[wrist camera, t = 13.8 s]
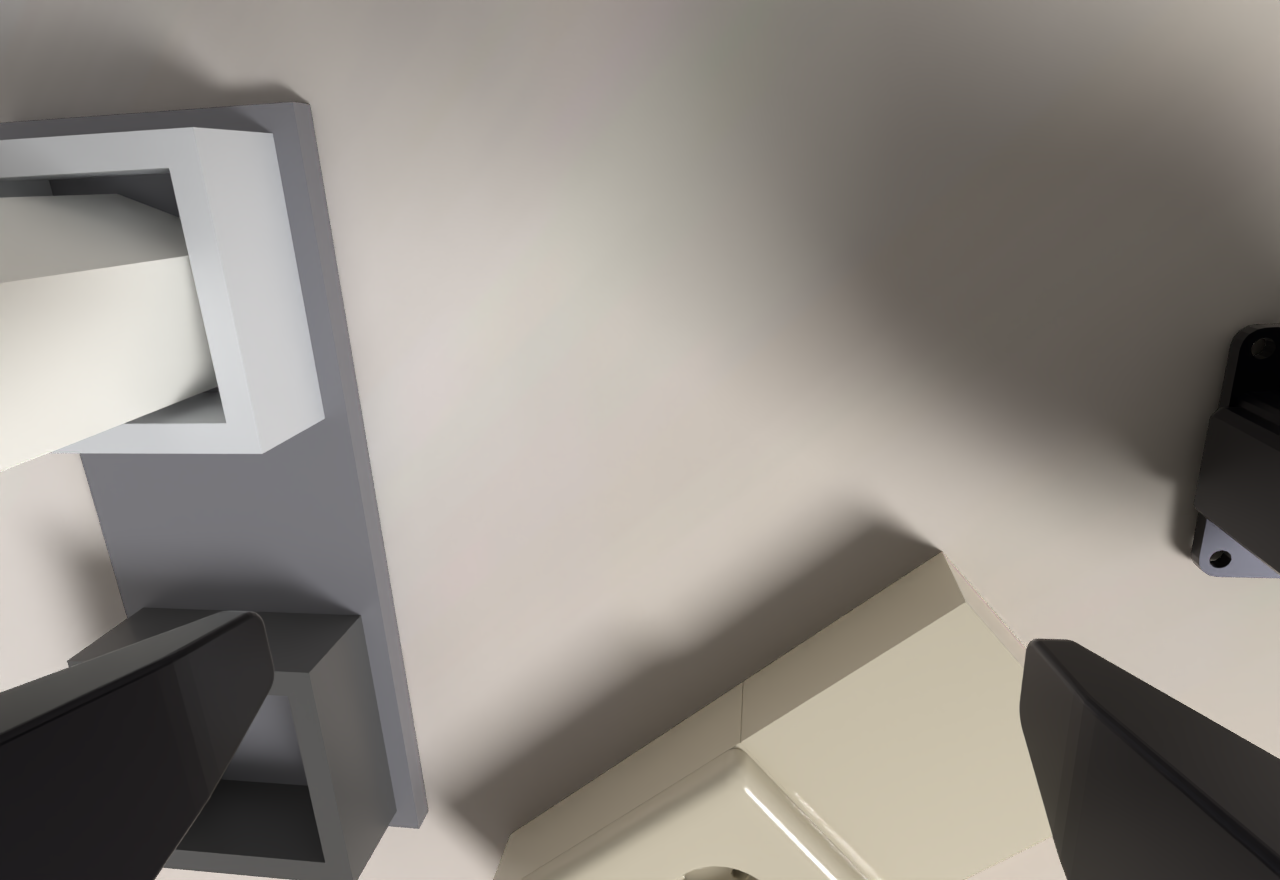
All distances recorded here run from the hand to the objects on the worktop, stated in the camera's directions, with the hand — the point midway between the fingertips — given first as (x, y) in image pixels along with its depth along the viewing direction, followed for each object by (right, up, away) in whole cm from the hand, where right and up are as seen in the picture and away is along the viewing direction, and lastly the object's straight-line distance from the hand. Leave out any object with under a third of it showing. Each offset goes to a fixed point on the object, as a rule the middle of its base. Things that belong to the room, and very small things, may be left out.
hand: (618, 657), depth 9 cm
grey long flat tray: (-12, 0, +16) cm, 20 cm away
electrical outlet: (+5, -8, +17) cm, 19 cm away
